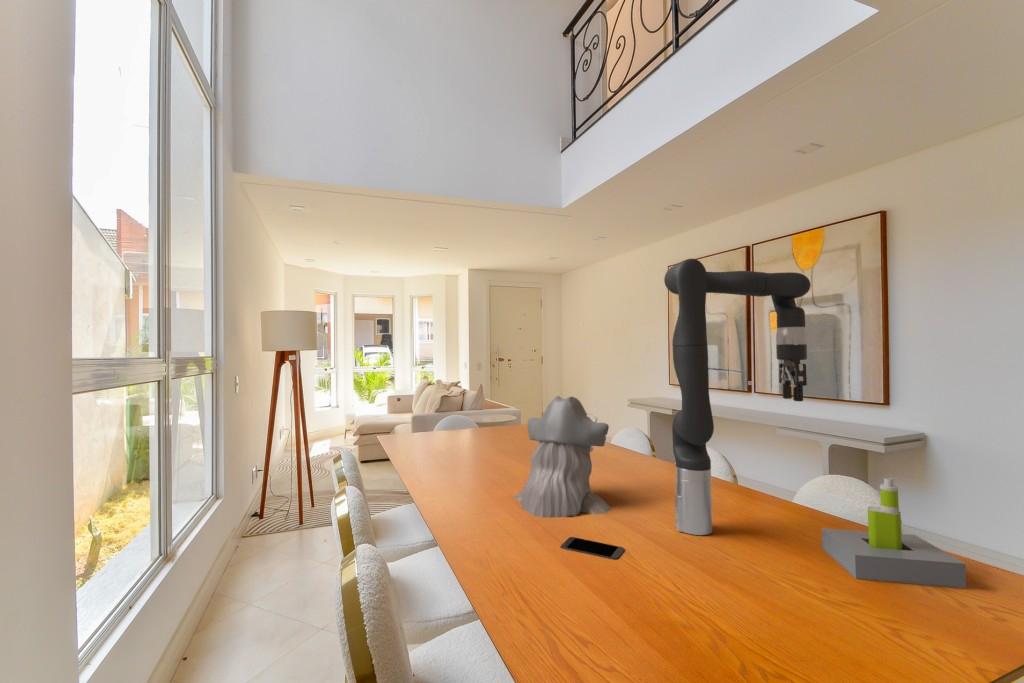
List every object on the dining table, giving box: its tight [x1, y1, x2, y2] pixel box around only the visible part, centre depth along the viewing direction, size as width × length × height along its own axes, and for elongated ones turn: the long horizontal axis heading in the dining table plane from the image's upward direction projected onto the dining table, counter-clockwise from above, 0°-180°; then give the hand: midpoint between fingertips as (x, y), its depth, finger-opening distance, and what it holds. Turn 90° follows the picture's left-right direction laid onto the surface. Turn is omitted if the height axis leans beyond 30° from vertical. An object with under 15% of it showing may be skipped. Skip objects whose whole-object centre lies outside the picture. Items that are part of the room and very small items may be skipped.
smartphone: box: [560, 536, 626, 561], centre depth 114 cm, size 7×15×1 cm, turn 61°
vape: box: [867, 476, 903, 550], centre depth 104 cm, size 4×6×20 cm, turn 58°
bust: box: [513, 395, 612, 519], centre depth 152 cm, size 34×34×35 cm
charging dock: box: [821, 528, 967, 589], centre depth 103 cm, size 20×16×5 cm
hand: (792, 399), depth 130 cm, fingers open, 8 cm apart
